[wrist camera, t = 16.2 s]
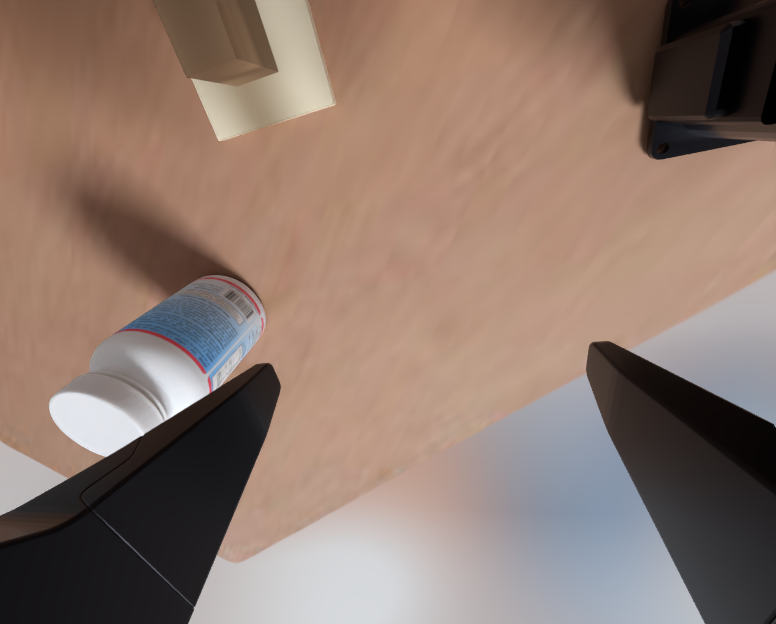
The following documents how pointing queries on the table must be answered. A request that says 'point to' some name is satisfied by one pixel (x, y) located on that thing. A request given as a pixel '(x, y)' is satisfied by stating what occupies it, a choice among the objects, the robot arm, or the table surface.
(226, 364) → the pill bottle
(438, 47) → the table surface
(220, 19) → the lid
